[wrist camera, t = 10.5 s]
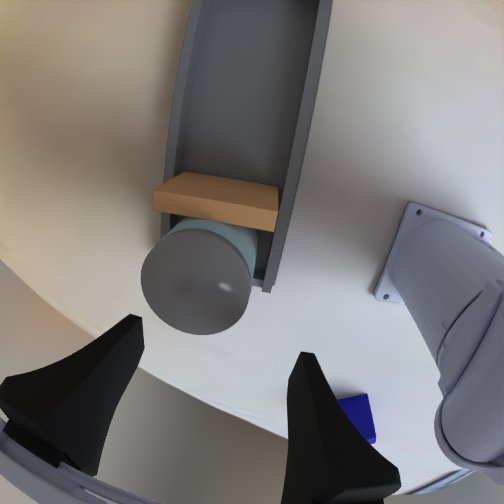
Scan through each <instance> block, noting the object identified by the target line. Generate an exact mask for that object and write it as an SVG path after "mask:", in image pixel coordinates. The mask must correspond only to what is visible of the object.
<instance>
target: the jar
mask: <svg viewBox="0 0 504 504" xmlns="http://www.w3.org/2000/svg"><path fill="white" fill-rule="evenodd" d="M258 241H259V235H258V229H255V228H250V227H245V226H239V225H234V224H229V223H223V222H218V221H212V220H206V219H201V218H195V217H189V216H186V217H185V218H184V219H183V220H182V221H180V222H179V223H178V224H177V225H176V226H175V227H174V228H173V229H172V230H171V231H169V232H168V233H167V234H166V235H165V236H164V237H163V238H162V239H161V240H160V241H159V242H158V243H157V244H156V246H155V247H154V248H153V249H152V250H151V251H150V252H149V254H148V255H147V257H146V259H145V261H144V263H143V266H142V270H141V286H142V291H143V294H144V296H145V299H146V301H147V303H148V304H149V306H150V308H151V309H152V310H153V311H154V313H155V314H156V315H157V316H158V317H159V318H160V319H162V320H163V321H164V322H165V323H167V324H168V325H170V326H172V327H173V328H175V329H177V330H180V331H182V332H186V333H190V334H195V335H210V334H215V333H219V332H222V331H224V330H226V329H228V328H230V327H231V326H233V325H234V324H235V323H236V322H237V321H238V320H239V319H240V318H241V317H242V315H243V314H244V312H245V310H246V307H247V304H248V300H249V296H250V293H251V288H252V281H253V275H254V268H255V261H256V255H257V248H258Z"/></svg>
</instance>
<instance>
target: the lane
mask: <svg viewBox="0 0 504 504" xmlns="http://www.w3.org/2000/svg"><path fill="white" fill-rule="evenodd" d="M332 3H333V0H194V1H193V4H192V8H191V12H190V16H189V20H188V25H187V29H186V33H185V38H184V42H183V47H182V52H181V57H180V62H179V68H178V73H177V79H176V85H175V91H174V97H173V104H172V110H171V118H170V125H169V133H168V142H167V151H166V161H165V172H164V183H166V182H168V181H169V180H171V179H172V178H174V177H176V176H177V175H179V174H181V173H182V172H192V173H199V174H205V175H212V176H218V177H224V178H230V179H236V180H242V181H248V182H253V183H259V184H264V185H269V186H275V187H278V215H277V220H276V225H275V229H274V232H271V231H266V230H261V229H258V235H259V241H258V248H257V255H256V261H255V268H254V275H253V281H252V286H257V287H262V292H267V293H270V292H271V288H272V285H273V286H274V284H275V280H276V276H277V272H278V268H279V264H280V260H281V256H282V252H283V248H284V243H285V239H286V235H287V231H288V226H289V222H290V218H291V213H292V209H293V205H294V200H295V196H296V191H297V187H298V182H299V178H300V173H301V168H302V164H303V159H304V154H305V150H306V145H307V140H308V135H309V130H310V125H311V120H312V115H313V110H314V105H315V100H316V95H317V90H318V84H319V79H320V73H321V68H322V62H323V57H324V51H325V46H326V40H327V34H328V28H329V22H330V16H331V9H332ZM185 217H186V216H184V215H178V214H172V213H166V212H162V216H161V239H162V238H163V237H164V236H165V235H166V234H167V233H168V232H169V231H171V230H172V229H173V228H174V227H175V226H176V225H177V224H178V223H179V222H180V221H182V220H183V219H184V218H185Z"/></svg>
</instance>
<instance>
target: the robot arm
mask: <svg viewBox="0 0 504 504" xmlns="http://www.w3.org/2000/svg"><path fill="white" fill-rule="evenodd" d="M419 209H420V213H419V214H418V215H416V212H417V210H419ZM481 232H482V234H481ZM480 234H481V235H480ZM492 237H493V233H492V232H491V231H490V230H488V229H485V228H483V227H480V226H478V225H475V224H472V223H470V222H467V221H465V220H462V219H459V218H457V217H454V216H451V215H448V214H445V213H443V212H440V211H437V210H434V209H431V208H428V207H425V206H422V205H419V204H416V203H409V204H408V205H407V207H406V210H405V213H404V216H403V219H402V222H401V225H400V228H399V230H398V233H397V236H396V239H395V242H394V244H393V247H392V250H391V252H390V255H389V258H388V260H387V263H386V265H385V268H384V270H383V273H382V275H381V278H380V280H379V282H378V285H377V287H376V290H375V292H374V297H375V299H376V300H377V301H382V302H389V303H396V304H402V305H406V306H407V308H408V310H409V312H410V314H411V315H412V317H413V319H414V321H415V323H416V325H417V327H418V328H419V330H420V332H421V334H422V336H423V338H424V340H425V342H426V344H427V346H428V348H429V350H430V352H431V354H432V356H433V358H434V360H435V362H436V365H437V367H438V369H439V371H440V374H441V376H440V380H439V382H438V385H439V387H440V390H441V392H442V395H443V397H444V398H443V400H442V401H441V403H440V404H439V406H438V409H437V411H436V414H435V420H434V430H435V436H436V439H437V442H438V445H439V447H440V449H441V450H442V452H443V453H444V454H445V456H446V457H447V458H448V459H449V460H450V461H452V462H453V463H455V464H456V465H458V466H460V467H462V468H466V469H470V470H476V471H479V472H482V473H483V474H485V475H487V476H488V477H489V478H491V479H492V480H493V481H494V482H495V483H496V484H497V485H504V256H503V255H502V254H501V253H500V252H498V251H497V250H496V249H495V248H494V247H492V246H491V245H490V243H491V240H492ZM385 294H388V295H387V296H385V297H383V296H384V295H385ZM144 348H145V347H144V336H143V324H142V317H139V316H136V315H133V314H129V315H128V316H126V317H125V318H124V319H122V320H121V321H120V322H118V323H117V324H116V325H115V326H113V327H112V328H111V329H109V330H108V331H107V332H105V333H104V334H102V335H101V336H100V337H98V338H97V339H95V340H94V341H93V342H91V343H90V344H88V345H86V346H85V347H83V348H82V349H80V350H79V351H77V352H75V353H73V354H72V355H70V356H68V357H66V358H64V359H62V360H60V361H57V362H55V363H53V364H51V365H48V366H46V367H43V368H40V369H37V370H34V371H31V372H27V373H23V374H19V375H14V376H9V377H6V378H5V380H4V381H3V382H2V384H1V385H0V408H1V410H2V411H3V412H4V413H5V415H6V416H7V417H8V418H9V420H8V422H7V423H6V422H5V421H4V420H3V419H2V418H0V474H1V475H2V476H3V477H4V478H5V479H7V480H8V481H9V482H10V483H12V484H13V485H14V486H15V487H17V488H18V489H19V490H21V491H22V492H23V493H25V494H26V495H27V496H29V497H30V498H32V499H33V500H35V501H36V502H37V503H39V504H108V503H107V502H106V501H104V500H102V499H100V498H98V497H96V496H94V495H92V494H90V493H88V492H86V491H85V490H84V489H86V490H88V491H90V492H92V493H94V494H97V495H99V496H101V497H103V498H106V499H108V500H111V501H113V502H115V503H118V504H164V503H161V502H157V501H154V500H151V499H148V498H144V497H141V496H138V495H136V494H133V493H130V492H127V491H124V490H122V489H119V488H116V487H114V486H112V485H109V484H107V483H105V482H102V481H100V480H98V479H96V478H93V476H95V475H97V472H98V467H99V463H100V458H101V454H102V450H103V446H104V442H105V439H106V436H107V432H108V429H109V426H110V423H111V420H112V418H113V414H114V412H115V409H116V407H117V405H118V403H119V401H120V399H121V396H122V395H123V393H124V391H125V389H126V387H127V385H128V384H129V382H130V380H131V378H132V376H133V374H134V372H135V370H136V368H137V366H138V364H139V361H140V359H141V356H142V354H143V351H144ZM287 417H288V455H287V466H286V474H285V481H284V489H283V494H282V500H281V504H384V501H383V499H384V498H385V497H387V496H389V495H391V494H393V493H395V492H396V491H398V490H399V489H400V488H401V480H400V474H399V471H398V468H397V467H396V466H395V465H393V464H392V463H391V462H389V461H388V460H387V459H386V458H384V457H383V456H382V455H381V454H380V453H379V452H378V451H377V450H376V449H374V448H373V447H372V446H371V445H370V443H369V442H368V441H367V440H366V439H365V438H364V437H363V436H362V435H361V434H360V432H359V431H358V430H357V429H356V427H355V426H354V425H353V424H352V422H351V421H350V419H349V418H348V417H347V415H346V414H345V412H344V411H343V409H342V407H341V406H340V404H339V402H338V401H337V399H336V397H335V395H334V394H333V392H332V390H331V388H330V386H329V384H328V382H327V380H326V378H325V376H324V374H323V372H322V370H321V367H320V365H319V363H318V361H317V358H316V356H315V354H314V353H308V352H300V355H299V357H298V359H297V361H296V364H295V366H294V368H293V370H292V373H291V375H290V377H289V379H288V390H287Z"/></svg>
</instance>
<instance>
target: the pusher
mask: <svg viewBox="0 0 504 504" xmlns="http://www.w3.org/2000/svg"><path fill="white" fill-rule="evenodd" d="M152 210H154V211H160V212H166V213H172V214H178V215H184V216H189V217H195V218H201V219H206V220H212V221H218V222H223V223H229V224H234V225H239V226H245V227H250V228H255V229H261V230H266V231H271V232H274V229H275V225H276V220H277V215H278V187H275V186H269V185H264V184H259V183H253V182H248V181H242V180H236V179H230V178H224V177H218V176H212V175H205V174H199V173H192V172H182V173H181V174H179V175H177V176H176V177H174V178H172V179H171V180H169V181H168V182H166V183H164V184H163V185H161V186H159V187H158V188H156V189H155V190H153V199H152Z"/></svg>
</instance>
